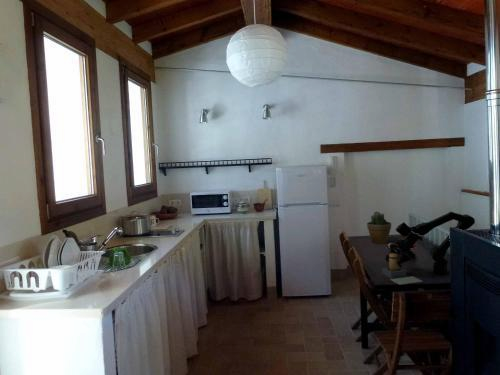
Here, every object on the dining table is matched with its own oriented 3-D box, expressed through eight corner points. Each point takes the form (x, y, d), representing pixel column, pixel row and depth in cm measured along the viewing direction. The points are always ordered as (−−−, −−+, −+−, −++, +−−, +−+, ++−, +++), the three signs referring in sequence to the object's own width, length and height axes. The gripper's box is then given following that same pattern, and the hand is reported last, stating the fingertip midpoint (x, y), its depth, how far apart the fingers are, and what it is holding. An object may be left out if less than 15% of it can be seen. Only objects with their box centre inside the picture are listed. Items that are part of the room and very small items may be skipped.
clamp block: (397, 271, 232) (397, 265, 232) (408, 277, 221) (408, 270, 221) (380, 274, 230) (380, 267, 229) (390, 279, 219) (390, 273, 219)
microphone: (404, 274, 237) (390, 261, 256) (407, 265, 236) (393, 253, 255) (396, 272, 236) (382, 259, 256) (399, 263, 235) (385, 251, 255)
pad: (412, 278, 219) (412, 276, 219) (422, 282, 211) (422, 281, 211) (390, 281, 217) (390, 279, 217) (399, 286, 208) (399, 284, 208)
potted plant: (363, 240, 316) (362, 210, 314) (385, 238, 318) (384, 208, 316) (373, 245, 297) (372, 213, 295) (396, 243, 299) (395, 212, 297)
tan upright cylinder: (395, 272, 229) (395, 252, 228) (401, 275, 223) (400, 254, 222) (387, 273, 228) (386, 253, 227) (392, 276, 222) (391, 255, 221)
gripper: (391, 230, 234) (375, 250, 232) (410, 236, 215) (392, 257, 214) (403, 241, 236) (387, 261, 235) (423, 248, 217) (405, 270, 216)
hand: (392, 262), depth 225 cm, fingers open, 9 cm apart
